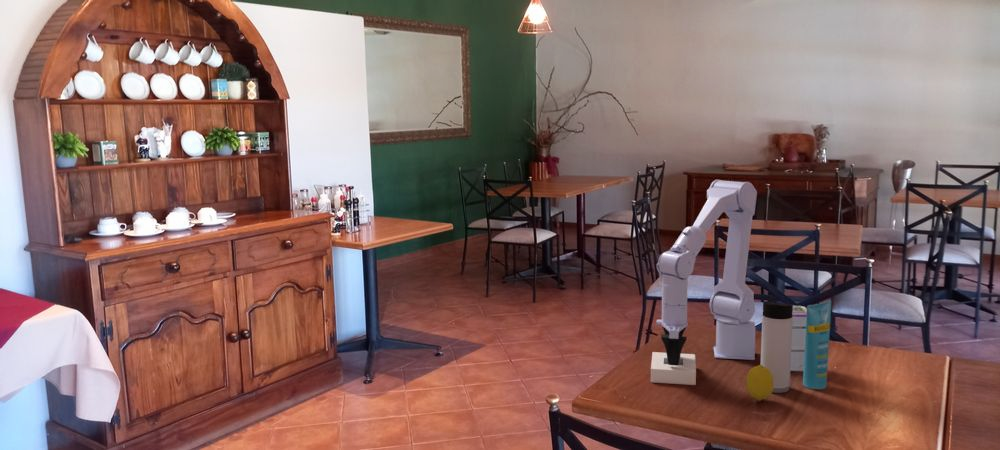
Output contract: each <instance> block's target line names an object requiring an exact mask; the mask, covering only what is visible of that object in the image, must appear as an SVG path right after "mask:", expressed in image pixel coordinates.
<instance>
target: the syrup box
mask: <svg viewBox="0 0 1000 450" xmlns="http://www.w3.org/2000/svg"><path fill="white" fill-rule="evenodd" d="M792 314H793V315H792V316H793V319H792V320H793V321H792V344H791V367H790V372H804V354H805V334H806V315H807V307H806V306H804V305H803V306H802V305H793V312H792Z"/></svg>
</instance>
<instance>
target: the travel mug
mask: <svg viewBox="0 0 1000 450" xmlns="http://www.w3.org/2000/svg"><path fill="white" fill-rule="evenodd" d="M793 306H794V304H792V303H789V302H776V301H764V302H762V315H761V316H762V318H761V338H760V339H761V341H760V343H761V345H760V346H761V347H760V365H762V366H763V367H766V368H767V369H768V370H769V371H770V372H771V373H772V376H773V381H774V387H773V391H772V394H773V393H774V394H783V392H784V393H787V392H789V391H790V387H791V383H790V382H791V371H790V367H791V344H792V321H793V320H792V319H793V316H792V315H793V314H792V312H793Z"/></svg>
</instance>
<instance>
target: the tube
mask: <svg viewBox="0 0 1000 450" xmlns="http://www.w3.org/2000/svg"><path fill="white" fill-rule="evenodd" d="M806 309H807V315H806V334H805V354H804V371H802V372H803V375H802V385H803V386H804V387H805V388H807V389H811V390H825V389H826V388H827V381H828V379H827V378H828V360H829V345H830V331H831V315H832V314H831V313H832V312H831V311H832V300H826V301H824V302H820V303H814V304H808V305H807V306H806Z"/></svg>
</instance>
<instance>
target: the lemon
mask: <svg viewBox="0 0 1000 450" xmlns="http://www.w3.org/2000/svg"><path fill="white" fill-rule="evenodd" d="M745 379H746V380H745V381H746V382H745V385H746V389H747V392H748V393H749V395H750V396H751V397H753V398H754V399H756V400H757V401H758V402H761V401H762V400H763V399H764V400H765V399H766V398H769V397H770V395H771V394H773V392H772V391H773V387H774V381H773V376H772V373H771V372H770V371H769V370H768V369H767V368H766V367H763V366H762V365H761V364H758V365H756V366H753V367H752V368H751V369H750V370H748V373H747V375H746V378H745Z"/></svg>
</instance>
